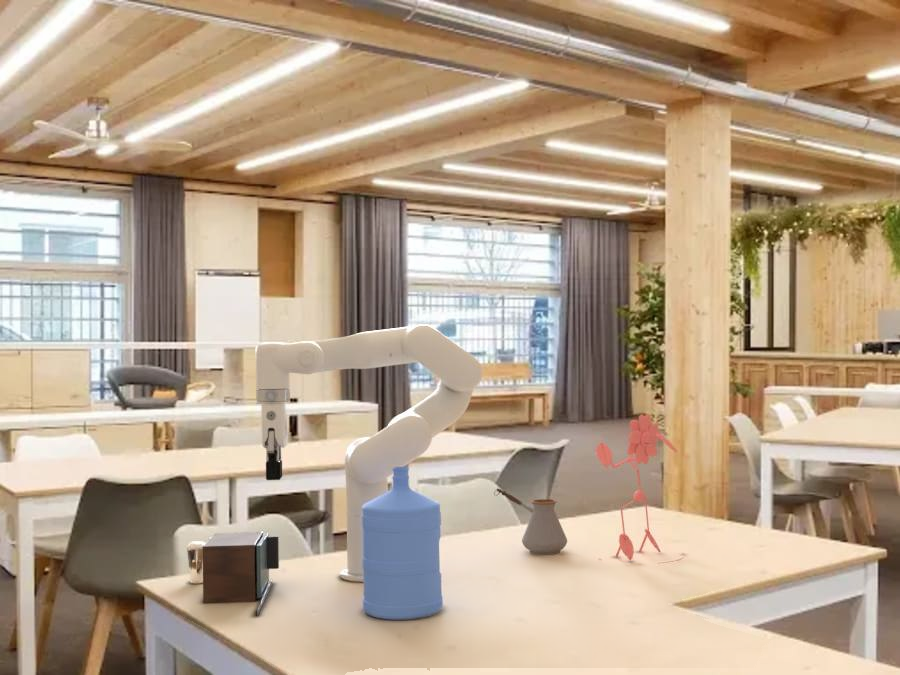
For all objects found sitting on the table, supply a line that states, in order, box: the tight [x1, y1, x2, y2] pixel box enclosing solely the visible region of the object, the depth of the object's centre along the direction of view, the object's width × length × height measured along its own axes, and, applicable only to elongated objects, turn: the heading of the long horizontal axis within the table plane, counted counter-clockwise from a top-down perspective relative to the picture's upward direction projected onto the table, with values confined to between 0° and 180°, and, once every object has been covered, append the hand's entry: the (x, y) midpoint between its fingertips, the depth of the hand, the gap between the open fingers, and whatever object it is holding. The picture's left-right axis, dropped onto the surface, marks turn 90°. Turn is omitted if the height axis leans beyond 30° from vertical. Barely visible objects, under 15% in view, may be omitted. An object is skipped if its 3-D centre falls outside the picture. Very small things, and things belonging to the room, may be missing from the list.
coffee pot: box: [493, 487, 568, 555], centre depth 254 cm, size 21×12×15 cm, turn 49°
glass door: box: [256, 532, 280, 599], centre depth 212 cm, size 3×16×11 cm, turn 4°
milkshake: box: [186, 537, 211, 585], centre depth 223 cm, size 5×5×10 cm
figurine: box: [595, 413, 687, 565], centre depth 240 cm, size 15×26×35 cm, turn 131°
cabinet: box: [202, 531, 273, 617], centre depth 206 cm, size 12×28×12 cm, turn 4°
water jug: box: [362, 466, 444, 621], centre depth 195 cm, size 16×16×28 cm
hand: (274, 478), depth 223 cm, fingers closed
